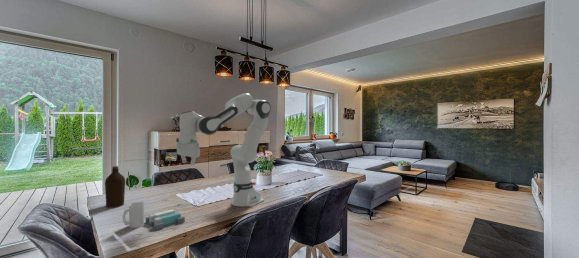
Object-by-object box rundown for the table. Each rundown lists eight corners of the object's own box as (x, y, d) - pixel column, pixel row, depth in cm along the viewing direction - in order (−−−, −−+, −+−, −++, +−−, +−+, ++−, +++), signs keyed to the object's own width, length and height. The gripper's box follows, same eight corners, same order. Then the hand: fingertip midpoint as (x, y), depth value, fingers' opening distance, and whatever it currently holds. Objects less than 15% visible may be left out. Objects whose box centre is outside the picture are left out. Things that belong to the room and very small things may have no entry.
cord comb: (172, 216, 139) (172, 210, 139) (184, 223, 130) (184, 217, 130) (145, 224, 129) (145, 217, 129) (156, 232, 119) (156, 225, 119)
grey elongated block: (172, 216, 137) (172, 209, 137) (174, 218, 135) (175, 210, 135) (148, 222, 128) (149, 215, 128) (151, 224, 126) (151, 216, 126)
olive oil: (128, 204, 159) (128, 166, 158) (109, 209, 149) (109, 168, 149) (120, 201, 164) (120, 164, 163) (101, 206, 155) (101, 166, 154)
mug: (139, 223, 129) (140, 201, 129) (147, 226, 126) (147, 203, 126) (118, 230, 121) (119, 206, 120) (126, 233, 117) (126, 209, 117)
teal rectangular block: (177, 219, 133) (178, 212, 133) (180, 221, 131) (180, 213, 131) (154, 226, 123) (154, 218, 123) (156, 228, 121) (156, 220, 121)
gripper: (202, 140, 134) (203, 165, 135) (184, 138, 147) (185, 161, 148) (191, 140, 129) (192, 166, 130) (174, 139, 143) (174, 162, 143)
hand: (188, 163), depth 139 cm, fingers open, 8 cm apart
